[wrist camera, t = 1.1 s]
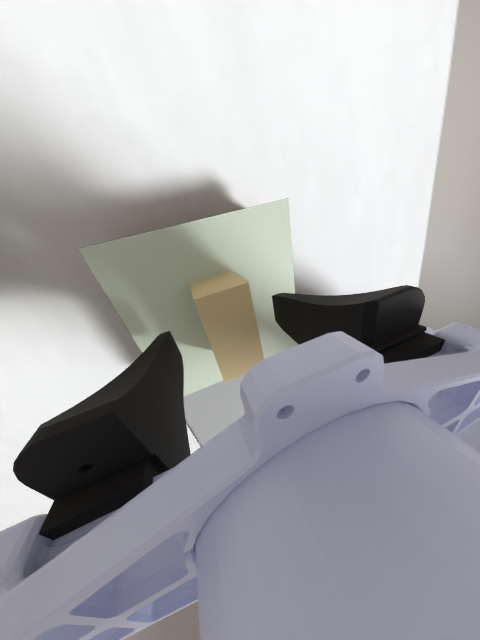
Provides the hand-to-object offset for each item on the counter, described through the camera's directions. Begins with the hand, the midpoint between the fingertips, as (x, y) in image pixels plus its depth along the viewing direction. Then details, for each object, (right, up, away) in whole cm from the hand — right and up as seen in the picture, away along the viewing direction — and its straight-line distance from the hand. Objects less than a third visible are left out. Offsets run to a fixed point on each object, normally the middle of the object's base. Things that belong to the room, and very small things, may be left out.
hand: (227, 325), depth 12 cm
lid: (-1, +1, +3) cm, 3 cm away
